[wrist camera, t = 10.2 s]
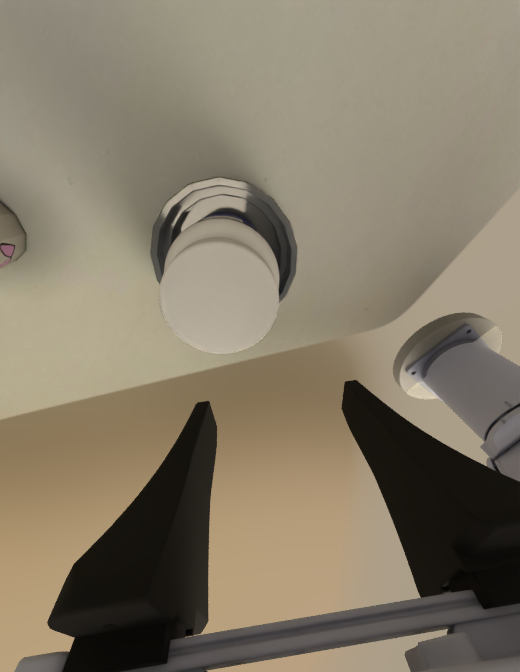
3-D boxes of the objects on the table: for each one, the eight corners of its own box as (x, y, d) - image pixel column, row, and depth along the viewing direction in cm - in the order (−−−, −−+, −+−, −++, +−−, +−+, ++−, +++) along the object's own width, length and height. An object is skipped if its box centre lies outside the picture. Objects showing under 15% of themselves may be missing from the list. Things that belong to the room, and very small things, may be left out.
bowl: (311, 241, 18) (326, 249, 15) (240, 326, 21) (241, 347, 18) (209, 144, 15) (203, 131, 12) (143, 264, 18) (125, 278, 15)
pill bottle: (269, 283, 19) (297, 352, 11) (200, 295, 19) (173, 375, 11) (258, 203, 16) (285, 211, 8) (176, 218, 16) (112, 243, 8)
